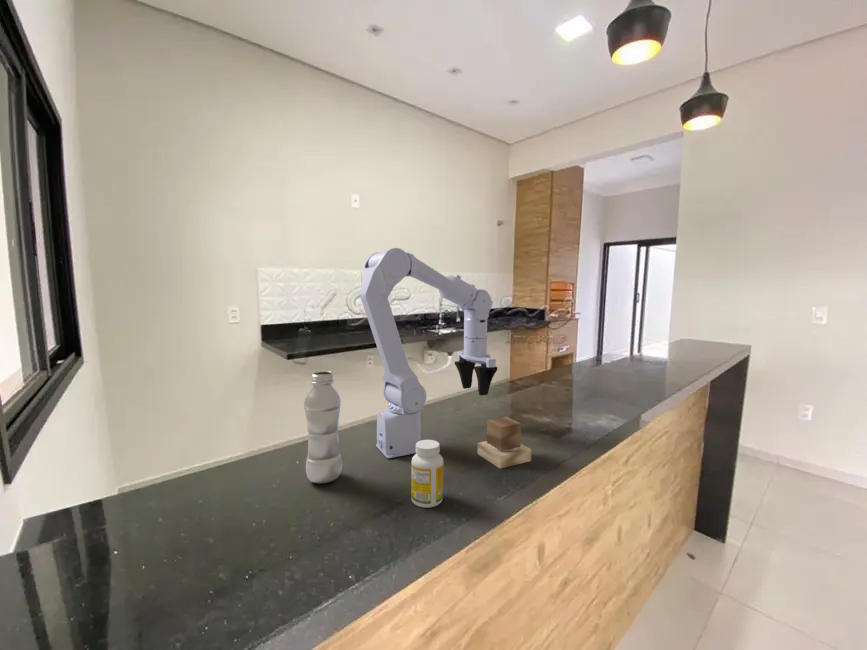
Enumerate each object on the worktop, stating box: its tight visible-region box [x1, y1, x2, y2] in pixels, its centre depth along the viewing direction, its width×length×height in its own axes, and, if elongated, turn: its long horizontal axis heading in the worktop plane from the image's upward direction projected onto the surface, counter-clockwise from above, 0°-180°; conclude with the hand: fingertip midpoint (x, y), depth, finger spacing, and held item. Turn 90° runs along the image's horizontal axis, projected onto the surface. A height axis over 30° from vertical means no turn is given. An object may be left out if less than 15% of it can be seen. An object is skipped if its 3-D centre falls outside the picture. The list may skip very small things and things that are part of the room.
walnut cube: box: [486, 416, 522, 451], centre depth 80 cm, size 5×5×5 cm
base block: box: [477, 440, 532, 469], centre depth 80 cm, size 8×8×3 cm
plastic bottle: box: [303, 370, 343, 484], centre depth 70 cm, size 6×7×20 cm
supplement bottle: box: [410, 439, 444, 509], centre depth 63 cm, size 5×5×10 cm
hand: (474, 391), depth 95 cm, fingers open, 7 cm apart
